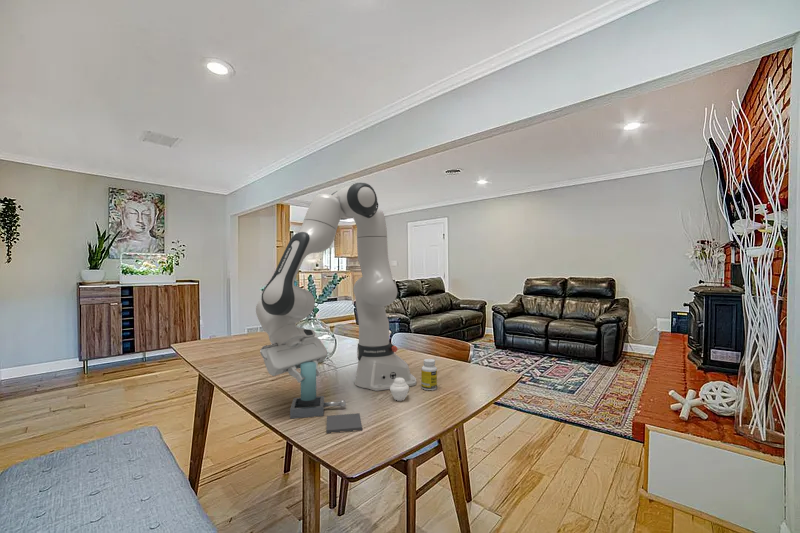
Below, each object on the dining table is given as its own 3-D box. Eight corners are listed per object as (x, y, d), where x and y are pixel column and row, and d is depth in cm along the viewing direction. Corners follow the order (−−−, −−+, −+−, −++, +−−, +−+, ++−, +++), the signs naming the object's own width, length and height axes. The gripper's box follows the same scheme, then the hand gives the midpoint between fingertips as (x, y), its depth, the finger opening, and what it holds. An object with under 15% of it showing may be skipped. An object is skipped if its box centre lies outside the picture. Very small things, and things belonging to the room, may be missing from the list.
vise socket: (345, 402, 110) (345, 394, 110) (346, 414, 101) (346, 405, 101) (293, 406, 107) (293, 397, 107) (290, 418, 98) (290, 409, 98)
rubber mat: (359, 416, 100) (359, 413, 100) (362, 430, 91) (362, 427, 91) (326, 418, 98) (326, 415, 98) (326, 433, 89) (326, 430, 89)
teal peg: (316, 394, 106) (316, 361, 106) (315, 400, 102) (315, 365, 102) (301, 395, 105) (301, 362, 105) (300, 401, 101) (299, 366, 101)
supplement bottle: (432, 392, 119) (432, 363, 119) (418, 389, 122) (418, 360, 122) (439, 387, 124) (439, 359, 124) (425, 384, 126) (425, 357, 127)
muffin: (410, 402, 110) (410, 379, 110) (391, 403, 109) (391, 380, 109) (407, 395, 116) (407, 373, 116) (388, 396, 115) (388, 374, 115)
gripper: (262, 340, 99) (285, 381, 93) (317, 329, 116) (339, 363, 110) (252, 354, 101) (274, 395, 96) (308, 341, 118) (329, 375, 113)
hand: (309, 378), depth 103 cm, fingers closed on teal peg, 4 cm apart
